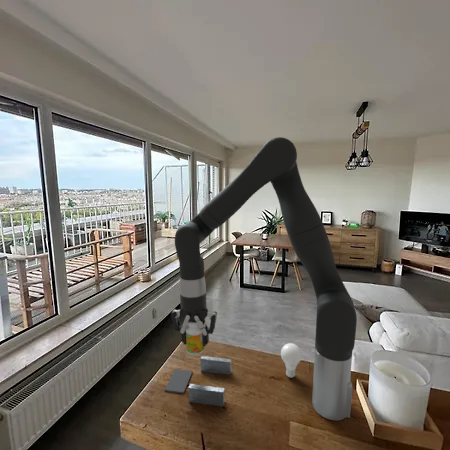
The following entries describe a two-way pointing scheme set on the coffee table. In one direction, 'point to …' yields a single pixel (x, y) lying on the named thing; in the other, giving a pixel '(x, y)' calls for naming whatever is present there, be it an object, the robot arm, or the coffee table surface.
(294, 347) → the lightbulb
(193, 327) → the supplement bottle
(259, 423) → the coffee table surface
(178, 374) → the gray rectangular block
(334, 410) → the robot arm
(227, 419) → the coffee table surface
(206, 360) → the grey bricks
